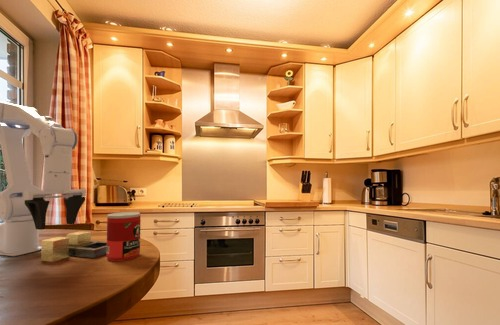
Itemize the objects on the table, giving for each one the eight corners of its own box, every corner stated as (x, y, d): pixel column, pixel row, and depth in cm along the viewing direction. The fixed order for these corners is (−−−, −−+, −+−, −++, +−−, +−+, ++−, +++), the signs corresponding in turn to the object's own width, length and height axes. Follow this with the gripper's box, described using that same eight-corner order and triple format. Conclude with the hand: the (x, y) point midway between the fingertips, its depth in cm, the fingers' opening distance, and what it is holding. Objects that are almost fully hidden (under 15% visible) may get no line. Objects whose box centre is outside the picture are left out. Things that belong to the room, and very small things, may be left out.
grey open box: (54, 254, 70) (55, 235, 70) (81, 246, 77) (82, 229, 78) (93, 258, 66) (94, 238, 66) (118, 249, 73) (119, 232, 73)
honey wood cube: (40, 260, 64) (41, 240, 65) (57, 256, 68) (58, 236, 68) (52, 262, 63) (53, 241, 63) (68, 257, 67) (69, 237, 67)
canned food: (127, 262, 62) (128, 216, 63) (98, 260, 63) (99, 215, 64) (146, 253, 69) (146, 212, 70) (120, 252, 71) (120, 211, 72)
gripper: (38, 172, 59) (36, 232, 58) (94, 173, 73) (93, 222, 72) (17, 173, 61) (15, 231, 60) (75, 174, 75) (74, 221, 74)
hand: (56, 226), depth 66 cm, fingers open, 7 cm apart
